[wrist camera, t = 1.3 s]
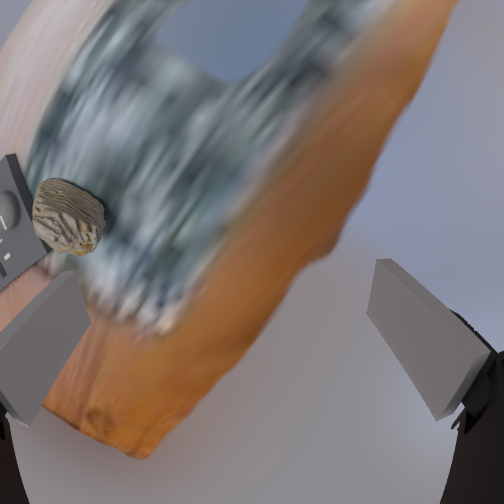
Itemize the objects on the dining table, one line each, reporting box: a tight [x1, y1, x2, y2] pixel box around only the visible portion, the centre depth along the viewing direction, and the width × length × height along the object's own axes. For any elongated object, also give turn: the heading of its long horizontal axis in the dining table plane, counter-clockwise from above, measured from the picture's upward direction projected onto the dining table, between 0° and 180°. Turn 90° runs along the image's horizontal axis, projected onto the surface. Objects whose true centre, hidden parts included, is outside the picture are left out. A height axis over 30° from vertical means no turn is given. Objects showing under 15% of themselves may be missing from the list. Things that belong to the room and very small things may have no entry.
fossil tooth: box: [32, 178, 106, 256], centre depth 29 cm, size 12×6×15 cm
